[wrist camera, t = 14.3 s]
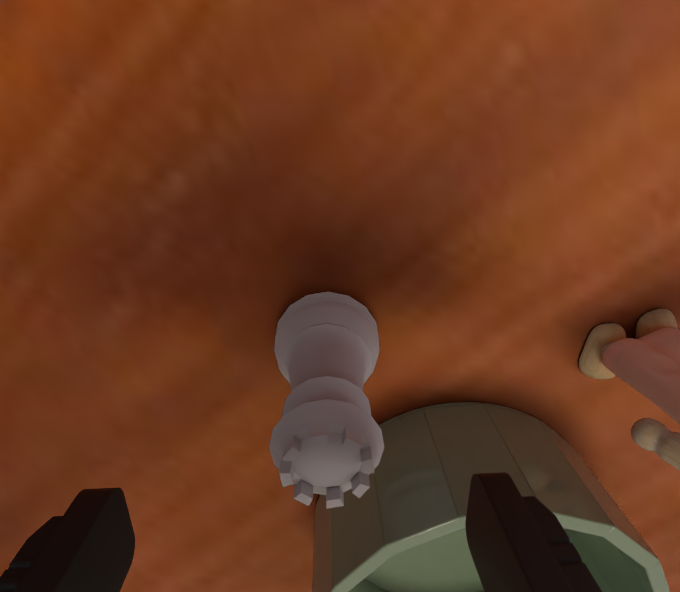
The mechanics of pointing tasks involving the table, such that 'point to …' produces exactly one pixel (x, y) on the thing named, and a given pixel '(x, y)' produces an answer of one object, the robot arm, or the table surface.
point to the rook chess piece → (326, 398)
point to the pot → (452, 500)
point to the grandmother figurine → (642, 373)
